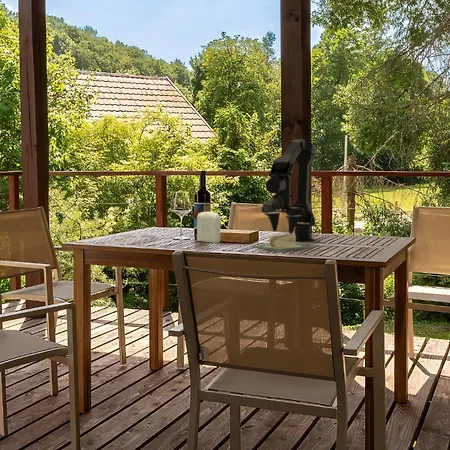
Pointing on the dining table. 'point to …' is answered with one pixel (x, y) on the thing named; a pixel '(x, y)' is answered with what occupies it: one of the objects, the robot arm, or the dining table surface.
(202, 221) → the soap bar
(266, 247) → the rubber mat
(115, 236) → the dining table surface
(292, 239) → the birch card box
